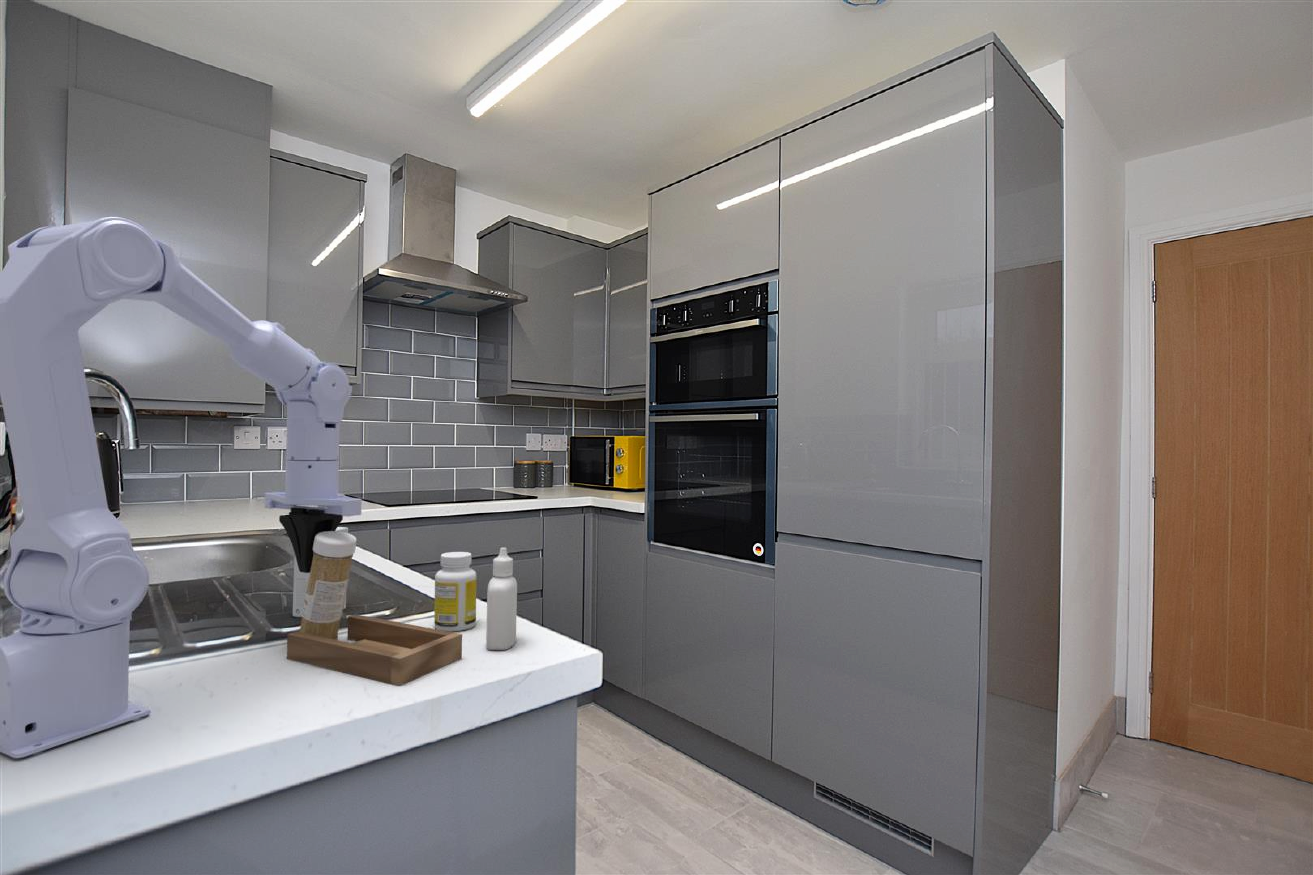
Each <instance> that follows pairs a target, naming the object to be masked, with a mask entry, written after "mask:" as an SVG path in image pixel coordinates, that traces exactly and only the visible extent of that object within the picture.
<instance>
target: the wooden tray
mask: <svg viewBox="0 0 1313 875" xmlns="http://www.w3.org/2000/svg"><path fill="white" fill-rule="evenodd" d="M346 634H347V635H346V636H347V637H346V639H348V640H350V641H351V640H352V641H356V642H353V643H352V642H349V641H348V642H347V641H343V640H339V639H338V640H335V639H330V638H325V637H321V636H316V635H311V634H307V633H302V632H299V631H294V632H289V633H287V634H286V636H287V637H286V659H287V660H291V661H295V662H299V663H303V664H307V665H311V666H315V667H320V668H325V669H329V670H332V671H337V672H341V673H343V674H344V673H345V674H349V675H353V676H356V677H357V676H358V677H361V678H366V679H370V680H373V681H378V682H383V683H387V684H391V685H394V684H395V686H398V685H400V686H403V685H404V683H405V684H407V683H409V682H412V681H414V680H416V679H418V678H420V676H421V677H423V676H426V675H427V674H430V673H431V672H434V671H436V670H438V668H439V669H441V668H444V667H445V666H447V664H448V665H449V663H450V664H452V663H454V662H456V660H457V661H459V660H461V659H462V658H463V656H462V655H463V634H462V633H459V632H458V633H457V632H454V631H451V632H449V631H442V630H438V629H437V628H436V629H435V628H433V627H432V628H431V627H425V626H420V625H415V624H410V623H404V622H399V621H394V620H388V619H382V618H378V617H373V616H368V615H361V614H352V615H348V616H347V633H346ZM458 659H459V660H458ZM429 672H430V673H429ZM408 681H409V682H408ZM406 682H407V683H406ZM402 684H403V685H402Z"/></svg>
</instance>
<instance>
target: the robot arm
mask: <svg viewBox="0 0 1313 875" xmlns="http://www.w3.org/2000/svg"><path fill="white" fill-rule="evenodd" d="M7 253H8V260H7V262H6V264H5V265H4V267H3V269H2V271H1V273H0V400H1V406H2V410H3V415H4V420H5V424H6V430H7V435H8V440H9V446H10V451H11V455H12V461H13V466H14V471H15V477H16V482H17V486H18V491H19V497H20V502H21V503H20V504H21V507H22V508H21V509H22V513H23V518H24V519H23V522H22V523H21V524H20V526H19V527H18V528H17V529H16V530H15V531H14V533H12V535H11V537H10V538H9V545H10V551H11V552H10V553H11V555H10V556H11V557H10V561H9V565H8V567H7V569H6V572H5V573H4V577H3V578H4V579H3V589H4V591H3V592H4V594H5V596H6V598H7V600H8V601H9V602H10V603H11V604H12V605H13V606H14V607H15V608H17V609H20V610H21V618H20V622H19V630H18V631H16V632H14V633H12V634H10V635H7V636H5V637H1V638H0V753H2V754H4V755H7V756H9V757H11V758H12V759H21V758H26V757H27V756H31V755H33V754H37V753H39V752H43V751H46V750H49V749H51V748H52V749H53V748H54V747H57V746H60V745H63V744H66V743H69V742H72V741H75V740H78V739H80V738H81V739H82V738H84V737H86V736H89V735H92V734H96V733H99V732H102V731H104V730H108V729H110V728H113V727H116V726H120V725H121V724H122V725H123V724H125V723H128V722H130V721H133V720H137V719H139V718H142V717H145V716H148V715H150V714H151V712H152V711H151V710H152V708H150V707H149V706H145V705H142V704H139V703H136V702H133V701H129V670H130V669H129V668H130V667H129V665H130V621H132V620H133V618H132V616H133V615H132V614H133V613H132V612H134V611H135V610H136V609H137V607H138V606H140V604H141V603H142V602H143V600H144V598H145V596H146V594H147V591H148V590H149V584H150V575H149V574H150V573H149V569H148V566H147V565H146V563H145V562H144V561H143V560H142V559H141V557H140V556H138V554H137V553H136V551H135V550H134V547H133V545H132V540H131V539H132V538H131V534H130V532H129V531H128V529H127V528H126V527H125V526H124V525H123V524H122V523H121V521H120V520H119V519H118V518H117V517H116V516H115V515H114V514H113V513H112V512H111V510H110V509H109V505H108V501H107V495H106V489H105V482H104V477H103V471H102V470H103V469H102V465H101V460H100V453H99V448H98V442H97V437H96V431H95V425H94V420H93V413H92V408H91V402H90V401H91V400H90V397H89V396H90V394H89V390H88V386H87V378H86V374H85V367H84V361H83V360H84V359H83V357H82V356H83V355H82V350H81V344H80V338H79V330H80V328H81V327H83V326H84V325H85V324H86V323H87V322H89V321H90V320H91V319H93V318H94V317H95V316H96V315H98V314H99V313H100V312H101V311H102V310H104V309H105V308H106V307H107V306H109V305H110V304H113V303H116V302H118V301H120V300H123V299H125V300H132V301H133V300H134V301H135V300H136V301H146V302H153V303H158V304H159V305H161V306H163V307H165V308H166V309H168V310H170V311H171V312H173V313H174V314H176V315H178V316H179V317H181V318H183V319H184V320H186V321H188V322H190V323H191V324H193V325H195V326H196V327H198V328H199V329H200V330H203V331H204V332H206V333H208V334H210V335H211V336H213V337H215V338H216V339H218V340H220V341H222V342H223V343H225V344H226V345H228V351H229V356H230V359H231V360H232V362H234V363H235V364H237V365H238V366H240V367H241V368H243V369H244V370H246V371H247V372H249V373H251V374H252V375H254V376H255V377H256V378H258V379H260V380H261V381H263V382H264V383H266V384H267V385H268V386H271V387H272V388H273V389H274V391H275V394H276V396H277V399H278V400H279V402H281V404H282V405H284V406H286V445H285V446H286V448H285V449H286V453H285V454H286V455H285V486H284V487H285V488H284V489H285V491H283V492H282V491H272V492H264V508H265V509H269V510H270V509H272V510H273V509H280V510H290V511H289V512H288V514H282V515H279V519H278V521H279V523H280V524H281V526H282V527H283V529H284V530H285V532H286V534H287V536H288V538H289V541H290V543H291V545H292V548H293V552H294V557H295V556H296V560H297V564H298V568H299V571H300V572H304V573H310V571H311V566H312V561H313V555H314V554H313V552H314V551H313V545H314V539H315V536H316V535H317V534H318V533H321V532H325V531H335V530H336V529H337V527H339V526H340V524H341V523H342V522H343V519H344V517H353V516H361V515H362V500H363V499H362V498H356V497H355V498H354V497H350V496H345V494H344V493H339V472H340V471H339V468H340V466H339V465H340V463H339V462H340V460H339V459H340V430H341V429H340V428H341V426H340V424H341V422H342V420H343V419H344V413H345V412H344V410H345V407H346V405H347V403H348V402H349V401H350V398H351V396H352V392H353V386H352V385H350V382H349V381H350V380H349V378H348V375H347V373H346V371H344V370H343V369H342V367H340V366H339V365H338V364H336V363H335V362H332V361H321V360H320V359H319V358H318V357H317V355H316V353H315V351H313V350H312V349H310V348H305V347H304V346H302V345H301V344H300V343H298V342H297V341H295V339H293V338H292V337H291V336H289V334H288V335H287V334H286V333H285V332H286V327H284V326H283V325H281V324H280V322H270V320H269V321H268V320H263V319H262V320H255V321H252V320H250V319H249V318H248V317H247V316H245V315H244V314H243V313H242V312H240V311H239V310H238V309H237V308H236V307H235V306H233V305H232V304H231V303H230V302H229V301H227V300H226V299H225V298H223V297H222V295H220V294H219V293H218V292H216V291H215V290H214V289H213V288H212V287H210V286H209V285H208V284H207V283H205V282H204V281H203V280H202V279H201V278H199V277H198V276H197V275H196V274H194V273H193V272H192V271H191V270H190V269H189V268H187V267H186V266H185V265H184V264H183V263H182V262H181V261H180V260H179V258H178V256H177V254H176V253H175V251H174V249H173V248H172V247H171V246H170V245H168V243H165V242H164V241H162V240H160V239H158V238H155V237H154V236H153V234H151V233H150V232H149V231H148V230H147V229H146V228H145V227H143V226H142V225H140V224H138V223H137V222H135V221H132V220H131V219H128V218H124V217H120V216H107V217H100V218H98V219H95V220H91V221H85V222H79V223H71V224H66V225H65V224H64V225H47V226H43V227H39V228H36V229H34V230H32V231H31V232H29V233H27V234H25V235H24V236H22V237H20V238H19V239H17V240H15V241H13V242H12V243H10V244H9V245H8V246H7Z"/></svg>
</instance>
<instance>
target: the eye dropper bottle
mask: <svg viewBox="0 0 1313 875" xmlns="http://www.w3.org/2000/svg"><path fill="white" fill-rule="evenodd" d="M513 566H514V559H513V557H510V556H509V555H508V550H507V547H500V549H499V553H498V556H496V557H495V558H493V559H492V578H491V579H490V580H489V582H488V585H487V592H486V594H487V595H486V600H487V601H486V635H485V636H486V637H485V640H486V643H485V646H486V648H487V650H490V651H506V650H508V649H510V648H512V647H513V646H515V643H516V640H517V609H518V605H517V604H518V603H517V600H518V599H517V598H518V582H517V580H516V578H515V577H514V576H513V574H514V573H513V572H514V567H513ZM511 646H512V647H511Z"/></svg>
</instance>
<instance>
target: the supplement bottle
mask: <svg viewBox="0 0 1313 875" xmlns="http://www.w3.org/2000/svg"><path fill="white" fill-rule="evenodd" d="M472 562H473V561H472V553H471V552H467V551H450V552H444V553H442V554H441V555H440V566H441V568H442V569H440V570H438V571H437V572H436V573H435V576H434V627H435V628H436V629H437V630H442V631H448V632H459V631H460V632H461V631H465V630H469V629H472V628H473V627H474V626H475V625H476V623H477V572H476V571H475V570H474V569H473V568H470V565H472Z"/></svg>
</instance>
